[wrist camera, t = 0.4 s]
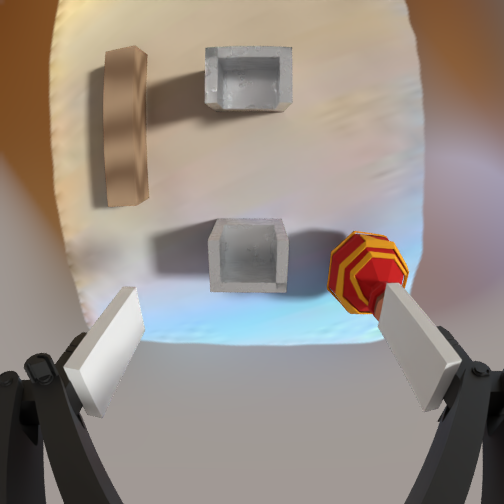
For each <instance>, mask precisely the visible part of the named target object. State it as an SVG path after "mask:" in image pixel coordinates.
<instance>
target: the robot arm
mask: <svg viewBox="0 0 504 504" xmlns="http://www.w3.org/2000/svg"><path fill="white" fill-rule="evenodd" d="M378 328H379V330H380V331H381V333H382V335H383V337H384V338H385V340H386V342H387V344H388V345H389V347H390V349H391V351H392V352H393V354H394V356H395V358H396V360H397V362H398V364H399V365H400V367H401V369H402V371H403V373H404V375H405V377H406V378H407V380H408V382H409V384H410V386H411V388H412V390H413V392H414V394H415V395H416V398H417V400H418V402H419V404H420V405H421V408H422V410H423V412H427V411H431V410H434V409H438V408H439V406H440V404H441V402H442V400H443V399H444V401H445V402H446V404H447V406H446V407H445V409H444V411H443V413H442V415H441V416H440V418H439V420H438V422H440V423H439V426H438V429H437V432H436V434H435V437H434V440H433V443H432V445H431V447H430V450H429V453H428V455H427V457H426V460H425V462H424V464H423V466H422V469H421V471H420V473H419V475H418V478H417V479H416V482H415V484H414V486H413V488H412V490H411V492H410V494H409V496H408V498H407V499H406V501H405V503H404V504H464V503H465V500H466V497H467V494H468V491H469V488H470V485H471V482H472V478H473V475H474V472H475V468H476V464H477V461H478V457H479V452H480V448H481V444H482V442H483V482H482V498H481V504H504V369H503V371H491V370H490V368H489V367H488V366H487V365H486V364H484V363H482V362H478V361H474V362H473V361H472V360H471V359H470V358H469V356H468V355H467V353H466V352H465V351H464V350H463V348H462V347H461V346H460V345H458V342H457V341H456V340H455V339H454V337H453V336H452V335H451V334H450V332H449V331H447V330H446V329H444V328H443V327H441V326H438V327H436V326H435V325H434V323H433V322H432V321H431V320H430V319H429V317H428V316H427V315H426V314H425V312H424V311H423V310H422V309H421V308H420V306H418V304H417V303H416V302H415V301H414V299H413V298H412V297H411V296H410V295H409V294H408V292H407V291H406V290H405V289H404V288H403V287H402V286H401V284H400V283H387V284H386V289H385V295H384V300H383V305H382V310H381V314H380V319H379V324H378ZM144 332H145V327H144V322H143V318H142V313H141V309H140V304H139V299H138V294H137V289H136V287H122V289H121V290H120V291H119V293H118V294H117V295H116V296H115V298H114V299H113V300H112V301H111V303H110V304H109V305H108V307H107V308H106V309H105V310H104V312H103V313H102V314H101V316H100V317H99V318H98V320H97V321H96V322H95V324H94V325H93V326H92V328H91V329H90V330H89V332H88V333H85V332H84V333H81V334H80V335H78V336H77V337H75V338H74V340H73V341H72V342H71V344H70V346H68V348H67V349H66V351H65V352H64V353H63V354H62V356H61V357H60V358H59V360H58V361H57V363H56V364H54V362H53V360H52V358H51V356H50V355H48V354H46V353H39V354H35V355H33V356H31V357H30V358H29V359H27V361H26V362H25V364H24V369H25V371H26V372H27V375H28V377H29V378H30V380H21V379H20V378H19V376H18V374H17V373H16V372H14V371H7V372H4V373H2V374H1V375H0V504H46V498H45V486H44V462H43V440H44V443H45V447H46V451H47V454H48V458H49V461H50V465H51V468H52V471H53V474H54V477H55V480H56V482H57V486H58V488H59V491H60V494H61V496H62V499H63V502H64V504H123V502H122V501H121V499H120V497H119V495H118V494H117V492H116V490H115V488H114V486H113V484H112V482H111V480H110V478H109V477H108V475H107V473H106V471H105V469H104V467H103V465H102V463H101V461H100V458H99V456H98V454H97V452H96V450H95V447H94V445H93V443H92V440H91V438H90V436H89V433H88V431H87V428H86V426H85V423H84V421H83V418H82V416H81V414H80V413H79V412H80V410H81V408H82V406H83V407H84V409H85V411H86V413H87V415H91V416H95V417H99V418H103V417H104V414H105V412H106V410H107V408H108V406H109V403H110V401H111V399H112V397H113V395H114V393H115V391H116V388H117V386H118V384H119V382H120V380H121V378H122V375H123V374H124V372H125V369H126V368H127V366H128V364H129V362H130V359H131V357H132V355H133V353H134V351H135V349H136V347H137V345H138V343H139V342H140V340H141V338H142V336H143V334H144Z"/></svg>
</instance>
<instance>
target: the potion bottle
mask: <svg viewBox="0 0 504 504" xmlns="http://www.w3.org/2000/svg"><path fill="white" fill-rule="evenodd" d="M356 232H357V233H364V234H371V235H362V234H355V233H356ZM375 235H377V236H375ZM408 274H409V271H408V267H407V265H406V263H405V261H404V259H403V257H402V256H401V254H400V252H399V250H398V249H397V247H396V245H395V243H394V242H391V241H389V240H388V238H387V237H386V236H384V235H380V234H373V233H366V232H358V231H353V232H352V233H351V234H350V235H349V236H348V237H347V238H346V239H345V240H344V241H342V242H341V243H340V244H339V245H338V246H337V247H336V248H335V249H334V250H333V251H331V257H330V266H329V274H328V282H327V290H328V291H329V292H330V293H331V294H332V295H333V296H334V297H335V298H336V299H337V300H338V301H339V302H340V301H341V302H342V303H341V302H340V303H341V304H342V306H343V307H344V308H345V309H346V311H348V312H349V313H350V314H373V316H374V317H375V318H376V319H377V320H378V321H379V319H380V314H381V310H382V305H383V300H384V295H385V289H386V284H387V283H400V284H402V280H403V276H404V281H403V284H402V287H403V288H404V289H405V286H406V282H407V278H408ZM328 286H329V287H328ZM331 290H332V291H333V292H334V293H335V294H334V293H333V292H332V291H331ZM336 296H337V297H338V298H337V297H336Z"/></svg>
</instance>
